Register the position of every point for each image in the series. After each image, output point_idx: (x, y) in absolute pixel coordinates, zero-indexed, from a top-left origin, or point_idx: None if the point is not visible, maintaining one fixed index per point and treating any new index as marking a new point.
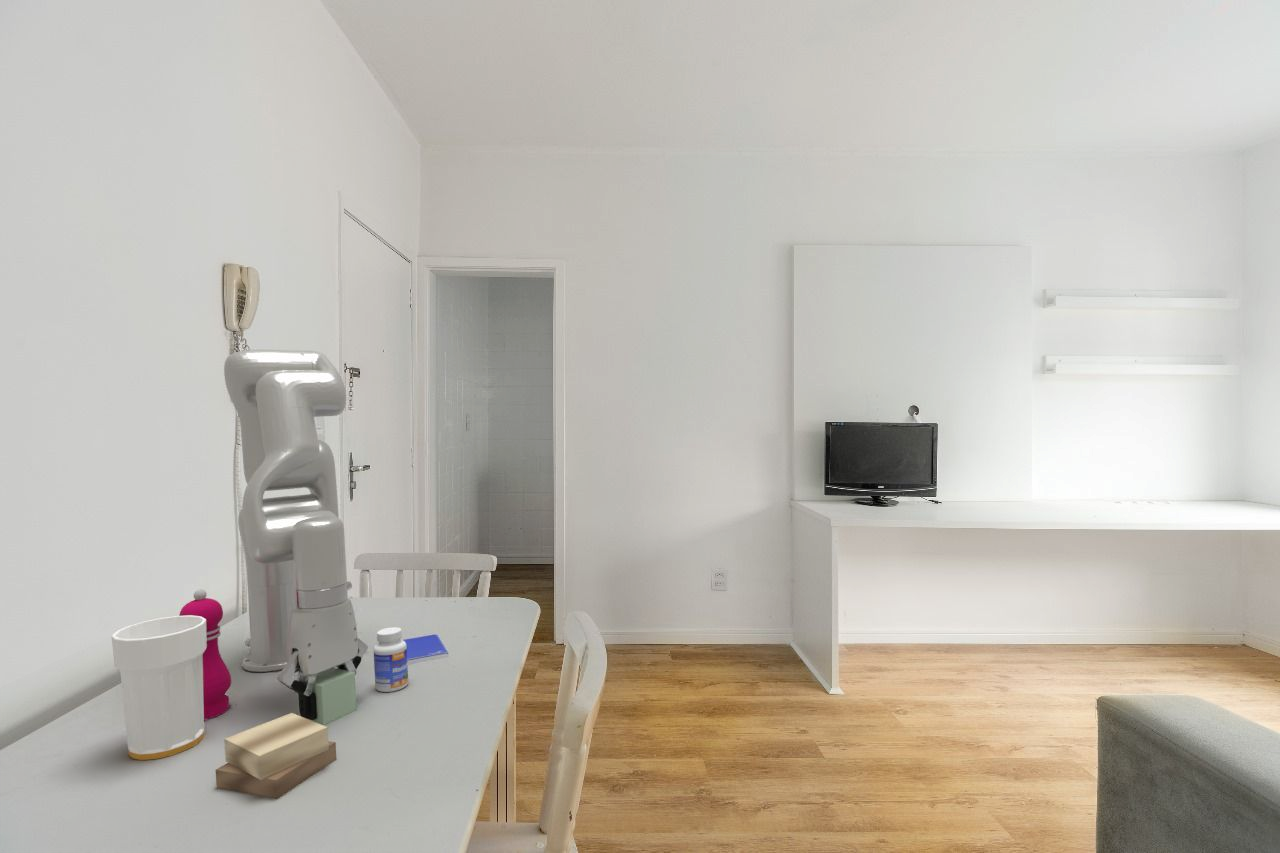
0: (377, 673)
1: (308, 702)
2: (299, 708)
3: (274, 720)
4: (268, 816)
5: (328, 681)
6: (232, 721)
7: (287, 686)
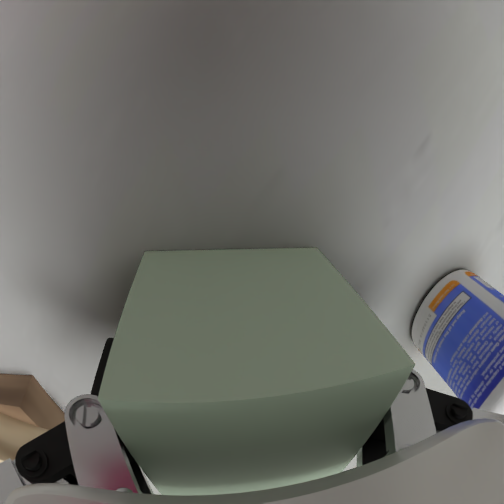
0: (450, 347)
1: None
2: (104, 352)
3: (1, 461)
4: None
5: (213, 491)
6: (19, 29)
7: (21, 449)
